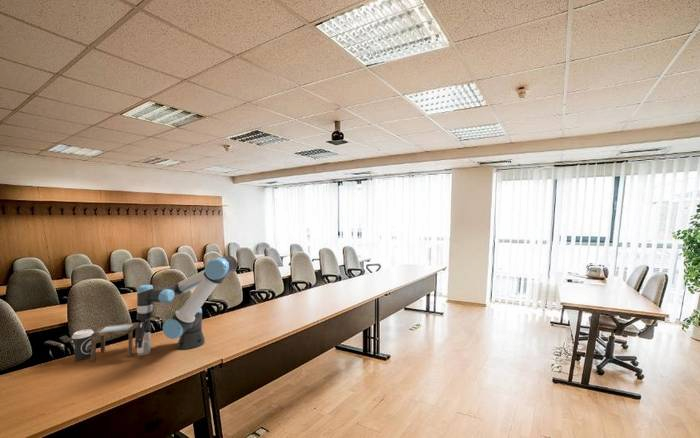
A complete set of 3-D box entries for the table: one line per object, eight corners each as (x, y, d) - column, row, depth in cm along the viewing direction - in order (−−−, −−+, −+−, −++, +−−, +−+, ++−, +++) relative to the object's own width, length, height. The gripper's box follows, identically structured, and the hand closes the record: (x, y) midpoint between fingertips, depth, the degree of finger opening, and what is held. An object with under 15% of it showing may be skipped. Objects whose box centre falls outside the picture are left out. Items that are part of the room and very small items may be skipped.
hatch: (133, 325, 179) (133, 323, 179) (127, 331, 169) (127, 329, 169) (104, 328, 174) (104, 326, 174) (96, 335, 164) (96, 333, 164)
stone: (150, 350, 175) (150, 339, 176) (148, 354, 171) (148, 342, 171) (140, 352, 174) (140, 340, 174) (138, 355, 169) (138, 343, 169)
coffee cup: (91, 353, 172) (91, 327, 172) (96, 357, 167) (96, 331, 167) (69, 359, 165) (69, 332, 165) (73, 364, 159) (73, 336, 159)
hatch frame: (138, 346, 181) (139, 322, 181) (131, 356, 168) (131, 330, 168) (101, 351, 174) (102, 326, 175) (91, 362, 161) (91, 334, 162)
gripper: (143, 306, 183) (142, 340, 182) (129, 319, 159) (128, 358, 159) (157, 305, 185) (156, 339, 185) (146, 317, 162) (145, 356, 162)
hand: (143, 348), depth 172 cm, fingers open, 13 cm apart
